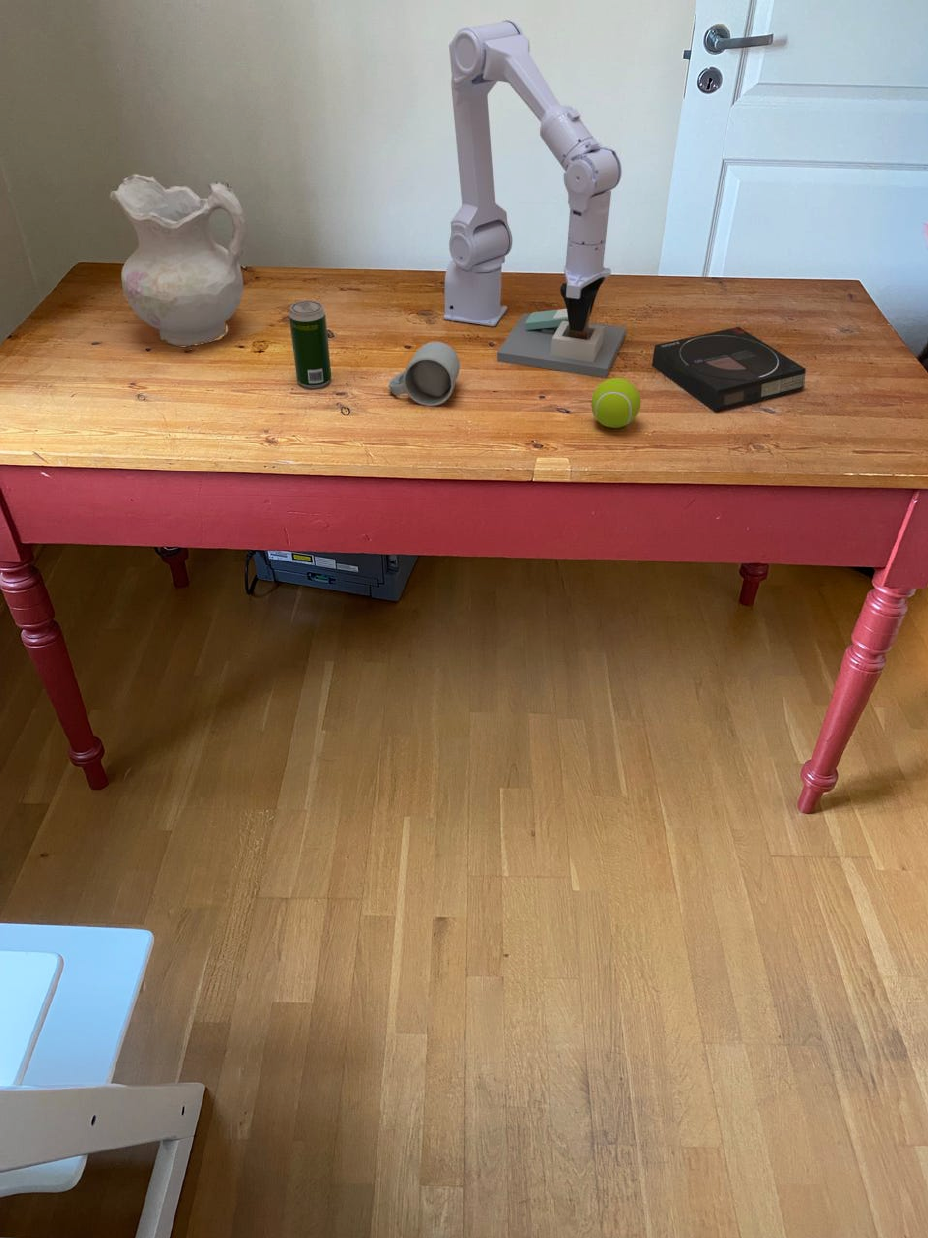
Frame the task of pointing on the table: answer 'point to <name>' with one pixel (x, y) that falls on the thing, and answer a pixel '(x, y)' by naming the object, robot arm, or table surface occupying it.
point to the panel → (563, 348)
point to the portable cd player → (728, 368)
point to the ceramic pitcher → (181, 259)
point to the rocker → (546, 319)
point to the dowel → (580, 334)
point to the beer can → (310, 344)
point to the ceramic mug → (429, 375)
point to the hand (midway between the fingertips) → (579, 325)
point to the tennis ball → (615, 403)
